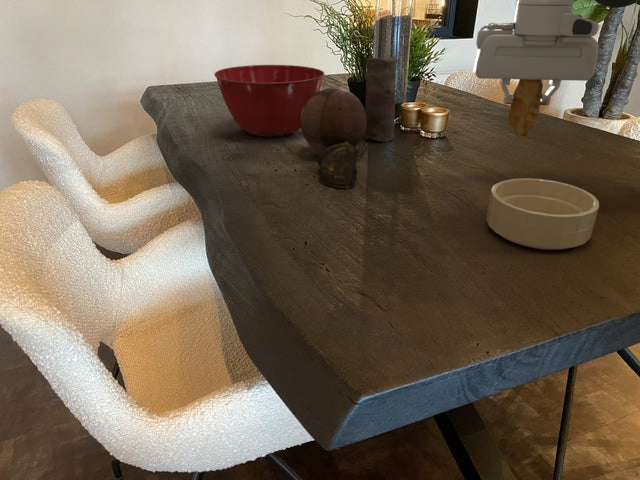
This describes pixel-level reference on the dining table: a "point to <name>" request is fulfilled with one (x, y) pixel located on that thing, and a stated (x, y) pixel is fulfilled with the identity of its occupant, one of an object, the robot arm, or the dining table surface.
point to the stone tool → (525, 106)
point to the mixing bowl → (268, 96)
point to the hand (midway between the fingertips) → (525, 104)
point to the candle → (380, 98)
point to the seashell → (338, 165)
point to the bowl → (542, 213)
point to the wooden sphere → (333, 119)
